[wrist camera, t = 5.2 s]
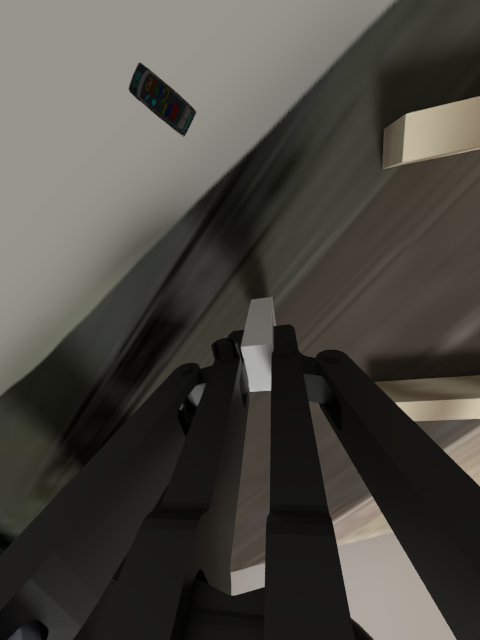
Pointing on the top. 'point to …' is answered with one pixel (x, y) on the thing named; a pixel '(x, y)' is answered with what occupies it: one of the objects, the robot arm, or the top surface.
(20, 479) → the top surface
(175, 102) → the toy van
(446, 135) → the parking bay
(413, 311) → the top surface
